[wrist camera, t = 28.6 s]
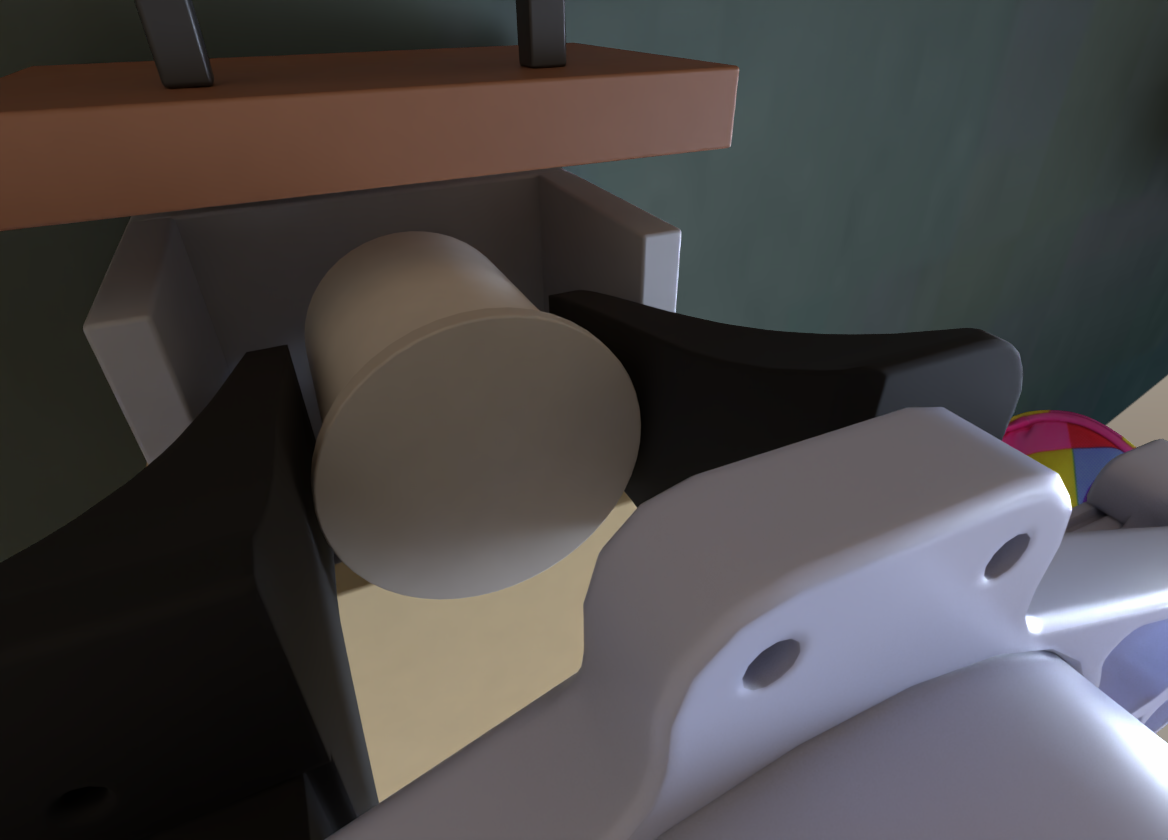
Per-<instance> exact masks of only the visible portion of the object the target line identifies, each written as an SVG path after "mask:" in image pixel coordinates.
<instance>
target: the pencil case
mask: <svg viewBox="0 0 1168 840" xmlns="http://www.w3.org/2000/svg"><path fill="white" fill-rule="evenodd" d="M1002 441H1003V442H1004V443H1006V444H1008V445H1010V446H1011V447H1013V448H1015V449H1017V450H1018V451H1020V452H1022V453H1024V454H1025V455H1027V456H1029V457H1030V458H1032V459H1034V460H1036V461H1037V462H1039V463H1041V464H1043V465H1044V466H1046V467H1048V468H1050V469H1051V470H1053V471H1055V472H1056V473H1058V474H1059V476H1060V478H1061V480H1062V482H1063V484H1064V486H1065V488H1066V490H1067V492H1068V494H1069V496H1070V501H1071V506H1072V508H1073V507H1075V506H1077V505H1080V504H1082V503H1084V502H1087V494H1088V492H1089V490H1090V488H1091V486H1092V484H1093V482H1094V480H1095V478H1096V477H1097V475H1098V474H1099V472H1100V471H1101V470H1102V468H1103V467H1104V466H1105V465H1106V464H1107V463H1108V462H1109V461H1110V460H1112V459H1113V458H1115V457H1116V456H1118V455H1120V454H1123V453H1125V452H1127V451H1130V450H1132V449H1135V448H1136V447H1135V446H1134V445H1133V444H1131V443H1130V442H1129V441H1128V440H1126V439H1125V438H1124V437H1123V436H1121V435H1119V434H1118V433H1117V432H1115V431H1113V430H1112V429H1110V428H1109V427H1107V426H1105V425H1104V424H1102V423H1100V422H1098V421H1096V420H1094V419H1091V418H1089V417H1087V416H1084V415H1080V414H1077V413H1073V412H1067V411H1058V410H1040V411H1030V412H1025V413H1022V414H1019V415H1016V416H1013V417H1012V418H1011V420H1010V422H1009V425H1008V427H1007V429H1006V432H1005V434H1004V436H1003V439H1002Z"/></svg>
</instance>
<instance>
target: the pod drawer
mask: <svg viewBox="0 0 1168 840" xmlns="http://www.w3.org/2000/svg"><path fill="white" fill-rule="evenodd" d="M134 2H135V5H136V8H137V11H138V14H139V17H140V20H141V23H142V26H143V29H144V32H145V35H146V38H147V41H148V44H149V47H150V50H151V53H152V56H153V59H154V61H140V62H116V63H93V64H70V65H46V66H31V67H28V68H26V69H23V70H20V71H18V72H15V73H12V74H10V75H7V76H4V77H1V78H0V231H6V230H14V229H23V228H32V227H41V226H49V225H58V224H67V223H76V222H84V221H93V220H102V219H111V218H119V217H128V216H131V218H130V220H129V223H128V224H127V226H126V229H125V231H124V233H123V235H122V238H121V240H120V242H119V245H118V247H117V249H116V251H115V254H114V256H113V258H112V261H111V263H110V265H109V268H108V270H107V272H106V274H105V277H104V279H103V281H102V284H101V286H100V288H99V291H98V293H97V295H96V297H95V300H94V302H93V304H92V307H91V309H90V311H89V313H88V316H87V318H86V320H85V323H84V325H83V331H84V333H85V335H86V337H87V339H88V342H89V344H90V346H91V348H92V350H93V352H94V354H95V356H96V358H97V360H98V362H99V364H100V366H101V368H102V370H103V372H104V374H105V377H106V379H107V381H108V383H109V385H110V387H111V389H112V391H113V393H114V395H115V397H116V399H117V401H118V403H119V405H120V407H121V410H122V412H123V414H124V416H125V418H126V420H127V422H128V424H129V426H130V428H131V430H132V432H133V434H134V436H135V438H136V440H137V442H138V445H139V447H140V449H141V451H142V453H143V455H144V457H145V459H146V461H147V463H148V465H149V464H150V463H151V462H152V461H154V460H155V459H156V458H157V457H158V456H159V455H160V454H162V453H163V452H164V451H165V450H166V449H167V448H168V447H169V446H170V445H171V444H172V443H173V442H174V441H175V440H176V439H177V438H178V437H179V436H180V435H181V434H182V433H183V432H184V430H185V429H186V428H187V427H188V426H189V425H190V424H191V423H192V422H193V420H194V419H195V418H196V417H197V416H198V415H199V414H200V413H201V412H202V410H203V409H204V408H205V407H206V406H207V405H208V404H209V402H210V401H211V400H212V398H213V397H214V396H215V394H216V393H217V392H218V391H219V389H220V388H221V386H222V385H223V384H224V382H225V381H226V379H227V378H228V377H229V375H230V374H231V372H232V371H233V370H234V368H235V367H236V365H237V364H238V363H239V361H240V360H241V359H242V357H243V356H244V355H245V353H246V352H250V351H255V350H260V349H266V348H271V347H276V346H282V345H288V348H289V351H290V355H291V358H292V362H293V365H294V368H295V372H296V375H297V379H298V382H299V385H300V389H301V392H302V395H303V399H304V402H305V406H306V409H307V412H308V416H309V419H310V422H311V426H312V429H313V433H314V436H315V439H316V440H317V437H318V434H319V432H320V429H321V427H322V420H321V416H320V411H319V407H318V402H317V398H316V393H315V389H314V384H313V380H312V375H311V371H310V366H309V362H308V357H307V353H306V347H305V337H304V334H305V320H306V315H307V310H308V307H309V304H310V301H311V299H312V296H313V294H314V292H315V290H316V288H317V287H318V285H319V283H320V281H321V280H322V279H323V277H324V276H325V275H326V273H327V272H328V271H329V270H330V269H331V268H332V267H333V266H334V265H335V264H336V263H337V262H338V261H339V260H340V259H341V258H342V257H344V256H345V255H346V254H347V253H349V252H350V251H351V250H353V249H355V248H357V247H358V246H360V245H362V244H364V243H366V242H368V241H371V240H373V239H376V238H378V237H381V236H385V235H389V234H393V233H399V232H407V231H425V232H432V233H439V234H443V235H446V236H450V237H453V238H456V239H458V240H460V241H463V242H465V243H467V244H468V245H470V246H472V247H473V248H475V249H477V250H478V251H479V252H481V253H482V254H483V255H484V256H486V257H487V258H488V259H489V260H490V261H491V262H492V263H493V264H494V265H495V266H496V267H497V268H498V269H499V270H500V271H501V272H502V273H503V274H504V275H505V276H506V277H507V278H508V279H509V280H510V281H511V282H512V283H513V284H514V285H515V286H516V287H517V288H518V289H519V290H520V291H521V292H522V293H523V295H524V296H525V297H526V298H527V299H528V300H529V301H530V302H531V303H532V304H533V305H534V306H535V307H536V308H537V309H538V310H539V311H542V312H546V313H549V297H548V295H553V294H559V293H564V292H569V291H575V290H587V291H594V292H599V293H603V294H607V295H611V296H615V297H619V298H622V299H626V300H630V301H633V302H637V303H640V304H644V305H648V306H651V307H655V308H659V309H662V310H666V311H670V312H674V313H676V299H677V286H678V273H679V259H680V246H681V230H680V229H678V228H677V227H675V226H673V225H671V224H669V223H667V222H665V221H663V220H661V219H659V218H657V217H655V216H653V215H652V214H650V213H648V212H646V211H644V210H642V209H640V208H638V207H636V206H634V205H632V204H630V203H628V202H627V201H625V200H623V199H621V198H619V197H617V196H615V195H613V194H611V193H609V192H607V191H605V190H603V189H602V188H600V187H598V186H596V185H594V184H592V183H590V182H588V181H586V180H584V179H582V178H580V177H578V176H577V175H575V174H573V173H571V172H569V171H566V170H564V169H563V168H561V167H565V166H574V165H583V164H591V163H600V162H609V161H618V160H626V159H635V158H644V157H653V156H661V155H670V154H679V153H688V152H696V151H705V150H714V149H723V148H728V147H730V146H731V140H732V131H733V122H734V113H735V103H736V94H737V85H738V76H739V67H737V66H734V65H727V64H720V63H713V62H706V61H699V60H692V59H685V58H678V57H670V56H663V55H656V54H649V53H642V52H635V51H628V50H621V49H614V48H607V47H600V46H593V45H585V44H578V43H566V27H565V0H516V12H517V30H518V45H513V46H489V47H466V48H443V49H419V50H396V51H373V52H350V53H326V54H303V55H280V56H256V57H233V58H210V59H209V57H208V54H207V50H206V47H205V43H204V40H203V36H202V33H201V30H200V26H199V23H198V19H197V16H196V12H195V9H194V6H193V2H192V0H134ZM333 552H334V551H333ZM340 562H342V561H341V560H340V559H339V558H338V556H337V555H336V554H335V553H334V564H337V563H340Z"/></svg>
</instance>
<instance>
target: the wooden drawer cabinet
mask: <svg viewBox="0 0 1168 840" xmlns="http://www.w3.org/2000/svg"><path fill="white" fill-rule="evenodd" d="M147 466H148V463H147V464H146V467H147ZM636 509H637V507H636V506H635V504H634V503H633V502H632V500H631V499H630V498H629V497H628V495H627V494H626V493H625V492H623V494H622V495H621V497H620V499H619V500H618V502H617V504H616V505H615V507H614V508H613V510H612V511H611V512H610V514H609V515H608V516H607V518H606V519H605V520H604V522H603V523H602V524H601V525H600V526H599V527H598V528H597V529H596V531H595V532H594V533H593V534H592V535H591V536H590V537H589V538H588V539H587V540H586V541H585V542H583V543H582V544H581V545H580V546H579V547H578V548H577V549H575V550H574V551H573V552H572V553H570V554H569V555H568V556H567V557H565V558H564V559H562V560H561V561H559V562H558V563H556V564H555V565H553V566H552V567H550V568H549V569H547V570H545V571H543V572H541V573H540V574H538V575H536V576H534V577H532V578H530V579H528V580H526V581H523V582H521V583H519V584H516V585H514V586H511V587H508V588H505V589H502V590H499V591H496V592H492V593H488V594H484V595H480V596H474V597H467V598H460V599H442V600H438V599H422V598H416V597H410V596H404V595H400V594H397V593H394V592H391V591H388V590H385V589H382V588H380V587H378V586H376V585H374V584H372V583H370V582H368V581H366V580H365V579H363V578H362V577H360V576H359V575H357V574H356V573H354V572H353V571H352V570H351V569H350V568H349V567H348V566H346V565H345V564H344V563H343V562H340V563H337V564H335V576H336V588H337V599H338V607H339V614H340V621H341V626H342V631H343V636H344V641H345V646H346V651H347V656H348V660H349V665H350V670H351V675H352V680H353V684H354V689H355V694H356V699H357V703H358V708H359V713H360V718H361V722H362V727H363V732H364V736H365V741H366V745H367V750H368V755H369V759H370V764H371V768H372V773H373V778H374V782H375V787H376V791H377V796H378V800H379V803H380V802H382V801H383V800H385V799H386V798H388V797H389V796H391V795H392V794H394V793H395V792H397V791H398V790H400V789H401V788H403V787H404V786H406V785H407V784H409V783H411V782H412V781H414V780H415V779H417V778H418V777H420V776H421V775H423V774H424V773H426V772H427V771H429V770H430V769H432V768H433V767H435V766H436V765H438V764H439V763H441V762H442V761H444V760H445V759H447V758H448V757H450V756H451V755H453V754H454V753H456V752H457V751H459V750H460V749H462V748H463V747H465V746H466V745H468V744H469V743H471V742H472V741H474V740H475V739H477V738H478V737H480V736H481V735H483V734H485V733H486V732H488V731H489V730H491V729H492V728H494V727H495V726H497V725H498V724H500V723H501V722H503V721H504V720H506V719H507V718H509V717H510V716H512V715H513V714H515V713H516V712H518V711H519V710H521V709H522V708H524V707H525V706H527V705H528V704H530V703H531V702H533V701H534V700H536V699H537V698H539V697H540V696H542V695H543V694H545V693H546V692H548V691H549V690H551V689H552V688H554V687H555V686H557V685H559V684H560V683H562V682H563V681H565V680H566V679H568V678H569V677H571V676H572V675H574V674H575V673H577V672H578V671H579V669H580V668H581V665H582V659H583V653H584V615H583V604H584V600H585V597H586V594H587V591H588V587H589V584H590V581H591V577H592V574H593V571H594V568H595V564H596V561H597V558H598V555H599V553H600V551H601V550H602V548H603V547H604V546H605V544H606V543H607V542H608V541H609V540H610V539H611V538H612V536H613V535H614V534H615V533H616V532H617V531H618V530H619V528H620V527H621V526H622V525H623V524H624V523H625V522H626V520H627V519H628V518H629V517H630V516H631V515H632V514H633V512H634V511H635V510H636Z"/></svg>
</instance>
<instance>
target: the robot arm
mask: <svg viewBox="0 0 1168 840" xmlns="http://www.w3.org/2000/svg"><path fill="white" fill-rule="evenodd" d="M548 297H549V313H551V314H554V315H556V316H559V317H562V318H564V319H567V320H569V321H572V322H573V323H575V324H577V325H579V326H580V327H582V328H584V329H586V330H587V331H589V332H590V333H591V334H592V335H593V336H595V337H596V338H597V339H598V340H600V341H601V342H602V343H603V344H604V345H605V346H606V347H607V348H609V350H610V351H611V352H612V353H613V354H614V355H615V356H616V357H617V359H618V360H619V361H620V362H621V364H622V365H623V367H624V368H625V370H626V372H627V373H628V375H629V376H630V379H631V381H632V384H633V386H634V389H635V391H636V395H637V399H638V403H639V407H640V417H641V436H640V445H639V450H638V455H637V460H636V463H635V466H634V469H633V472H632V475H631V477H630V479H629V481H628V484H627V486H626V488H625V490H624V492H625V493H626V494H627V495H628V497H629V498H630V499H631V500H632V502H633V503H634V504H635V506H636V507H637V509H636V510H635V511H634V512H633V514H632V515H631V516H630V517H629V518H628V519H627V520H626V522H625V523H624V524H623V525H622V526H621V527H620V528H619V530H618V531H617V532H616V533H615V534H614V535H613V536H612V538H611V539H610V540H609V541H608V542H607V543H606V544H605V546H604V547H603V548H602V550H601V551H600V553H599V555H598V558H597V561H596V564H595V568H594V571H593V574H592V577H591V581H590V584H589V587H588V591H587V594H586V597H585V600H584V604H583V615H584V653H583V659H582V665H581V668H580V669H579V671H578V672H577V673H575V674H574V675H572V676H571V677H569V678H568V679H566V680H565V681H563V682H562V683H560V684H559V685H557V686H555V687H554V688H552V689H551V690H549V691H548V692H546V693H545V694H543V695H542V696H540V697H539V698H537V699H536V700H534V701H533V702H531V703H530V704H528V705H527V706H525V707H524V708H522V709H521V710H519V711H518V712H516V713H515V714H513V715H512V716H510V717H509V718H507V719H506V720H504V721H503V722H501V723H500V724H498V725H497V726H495V727H494V728H492V729H491V730H489V731H488V732H486V733H485V734H483V735H481V736H480V737H478V738H477V739H475V740H474V741H472V742H471V743H469V744H468V745H466V746H465V747H463V748H462V749H460V750H459V751H457V752H456V753H454V754H453V755H451V756H450V757H448V758H447V759H445V760H444V761H442V762H441V763H439V764H438V765H436V766H435V767H433V768H432V769H430V770H429V771H427V772H426V773H424V774H423V775H421V776H420V777H418V778H417V779H415V780H414V781H412V782H411V783H409V784H407V785H406V786H404V787H403V788H401V789H400V790H398V791H397V792H395V793H394V794H392V795H391V796H389V797H388V798H386V799H385V800H383V801H382V802H380V803H379V800H378V796H377V791H376V787H375V782H374V778H373V773H372V768H371V764H370V759H369V755H368V750H367V745H366V741H365V736H364V732H363V727H362V722H361V718H360V713H359V708H358V703H357V699H356V694H355V689H354V684H353V680H352V675H351V670H350V665H349V660H348V656H347V651H346V646H345V641H344V636H343V631H342V626H341V621H340V614H339V607H338V599H337V588H336V576H335V564H334V552H333V550H332V549H331V547H330V546H329V545H328V543H327V541H326V539H325V537H324V535H323V533H322V531H321V529H320V526H319V523H318V520H317V516H316V513H315V509H314V503H313V496H312V487H311V467H312V457H313V453H314V448H315V444H316V439H315V436H314V433H313V429H312V426H311V422H310V419H309V416H308V412H307V409H306V406H305V402H304V399H303V395H302V392H301V389H300V385H299V382H298V379H297V375H296V372H295V368H294V365H293V362H292V358H291V355H290V351H289V348H288V345H282V346H276V347H271V348H266V349H260V350H255V351H250V352H246V353H245V355H244V356H243V357H242V359H241V360H240V361H239V363H238V364H237V365H236V367H235V368H234V370H233V371H232V372H231V374H230V375H229V377H228V378H227V379H226V381H225V382H224V384H223V385H222V386H221V388H220V389H219V391H218V392H217V393H216V394H215V396H214V397H213V398H212V400H211V401H210V402H209V404H208V405H207V406H206V407H205V408H204V409H203V410H202V412H201V413H200V414H199V415H198V416H197V417H196V418H195V419H194V420H193V422H192V423H191V424H190V425H189V426H188V427H187V428H186V429H185V430H184V432H183V433H182V434H181V435H180V436H179V437H178V438H177V439H176V440H175V441H174V442H173V443H172V444H171V445H170V446H169V447H168V448H167V449H166V450H165V451H164V452H163V453H162V454H160V455H159V456H158V457H157V458H156V459H155V460H154V461H152V462H151V463H150V464H149V465H148V466H147V467H145V468H144V469H143V470H142V471H141V472H140V473H138V474H137V475H136V476H135V477H133V478H132V479H131V480H130V481H128V482H127V483H126V484H124V485H123V486H122V487H120V488H119V489H117V490H116V491H114V492H113V493H112V494H110V495H109V496H107V497H106V498H105V499H103V500H102V501H100V502H99V503H97V504H96V505H95V506H93V507H92V508H90V509H89V510H87V511H86V512H85V513H83V514H82V515H80V516H79V517H77V518H76V519H75V520H73V521H71V522H70V523H68V524H67V525H65V526H63V527H62V528H60V529H58V530H57V531H55V532H53V533H52V534H50V535H48V536H47V537H45V538H43V539H42V540H40V541H39V542H37V543H35V544H33V545H31V546H30V547H28V548H26V549H24V550H23V551H21V552H19V553H17V554H15V555H14V556H12V557H10V558H8V559H6V560H5V561H3V562H1V563H0V840H1168V743H1166V742H1165V741H1164V740H1163V739H1161V738H1160V737H1159V736H1158V735H1156V734H1155V733H1157V732H1158V731H1159V730H1161V729H1162V728H1163V727H1165V726H1166V725H1167V724H1168V441H1166V440H1164V439H1158V440H1154V441H1151V442H1149V443H1147V444H1144V445H1142V446H1139V447H1137V448H1135V449H1132V450H1130V451H1127V452H1125V453H1123V454H1120V455H1118V456H1116V457H1115V458H1113V459H1112V460H1110V461H1109V462H1108V463H1107V464H1106V465H1105V466H1104V467H1103V468H1102V470H1101V471H1100V472H1099V474H1098V475H1097V477H1096V478H1095V480H1094V482H1093V484H1092V486H1091V488H1090V490H1089V492H1088V494H1087V502H1084V503H1082V504H1080V505H1077V506H1075V507H1073V508H1072V506H1071V501H1070V496H1069V494H1068V492H1067V490H1066V488H1065V486H1064V484H1063V482H1062V480H1061V478H1060V476H1059V474H1058V473H1056V472H1055V471H1053V470H1051V469H1050V468H1048V467H1046V466H1044V465H1043V464H1041V463H1039V462H1037V461H1036V460H1034V459H1032V458H1030V457H1029V456H1027V455H1025V454H1024V453H1022V452H1020V451H1018V450H1017V449H1015V448H1013V447H1011V446H1010V445H1008V444H1006V443H1004V442H1003V441H1002V439H1003V436H1004V434H1005V432H1006V429H1007V427H1008V425H1009V422H1010V420H1011V418H1012V415H1013V413H1014V411H1015V408H1016V405H1017V402H1018V399H1019V396H1020V393H1021V389H1022V380H1023V368H1022V363H1021V359H1020V354H1019V352H1018V351H1017V350H1016V349H1015V347H1014V346H1013V345H1012V344H1011V343H1010V342H1007V341H1005V340H1003V339H1001V338H999V337H996V336H994V335H992V334H990V333H988V332H985V331H983V330H980V329H973V328H960V329H948V330H936V331H923V332H911V333H898V334H857V335H846V334H814V333H797V332H783V331H773V330H764V329H757V328H750V327H742V326H735V325H729V324H724V323H718V322H713V321H709V320H704V319H700V318H695V317H691V316H686V315H682V314H678V313H674V312H670V311H666V310H662V309H659V308H655V307H651V306H648V305H644V304H640V303H637V302H633V301H630V300H626V299H622V298H619V297H615V296H611V295H607V294H603V293H599V292H594V291H587V290H575V291H569V292H564V293H559V294H553V295H548Z"/></svg>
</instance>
